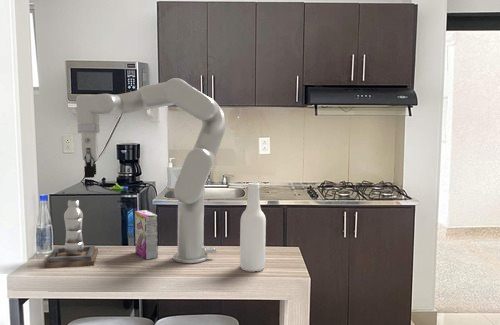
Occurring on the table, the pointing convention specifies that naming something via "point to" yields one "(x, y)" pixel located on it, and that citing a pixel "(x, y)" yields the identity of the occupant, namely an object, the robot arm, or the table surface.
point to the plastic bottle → (73, 228)
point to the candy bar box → (146, 234)
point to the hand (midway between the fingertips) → (90, 176)
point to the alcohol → (252, 232)
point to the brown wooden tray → (71, 258)
